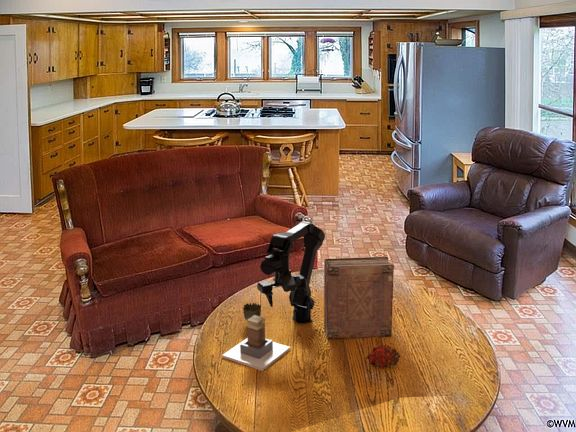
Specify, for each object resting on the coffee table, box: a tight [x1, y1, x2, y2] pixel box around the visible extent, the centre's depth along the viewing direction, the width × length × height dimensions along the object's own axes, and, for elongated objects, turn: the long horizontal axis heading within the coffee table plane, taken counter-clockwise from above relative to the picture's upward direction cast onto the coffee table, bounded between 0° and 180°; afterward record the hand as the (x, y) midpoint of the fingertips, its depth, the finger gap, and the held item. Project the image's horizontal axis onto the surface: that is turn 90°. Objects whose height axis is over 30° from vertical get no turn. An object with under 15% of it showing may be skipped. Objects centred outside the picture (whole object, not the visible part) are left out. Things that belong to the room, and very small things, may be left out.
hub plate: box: [222, 337, 291, 372], centre depth 217 cm, size 18×18×4 cm
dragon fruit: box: [365, 344, 401, 370], centre depth 207 cm, size 8×8×12 cm
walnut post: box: [246, 315, 266, 348], centre depth 216 cm, size 5×5×13 cm
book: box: [323, 255, 395, 340], centre depth 229 cm, size 25×9×30 cm, turn 95°
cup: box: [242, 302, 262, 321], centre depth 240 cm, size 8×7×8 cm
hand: (282, 304), depth 228 cm, fingers open, 9 cm apart
